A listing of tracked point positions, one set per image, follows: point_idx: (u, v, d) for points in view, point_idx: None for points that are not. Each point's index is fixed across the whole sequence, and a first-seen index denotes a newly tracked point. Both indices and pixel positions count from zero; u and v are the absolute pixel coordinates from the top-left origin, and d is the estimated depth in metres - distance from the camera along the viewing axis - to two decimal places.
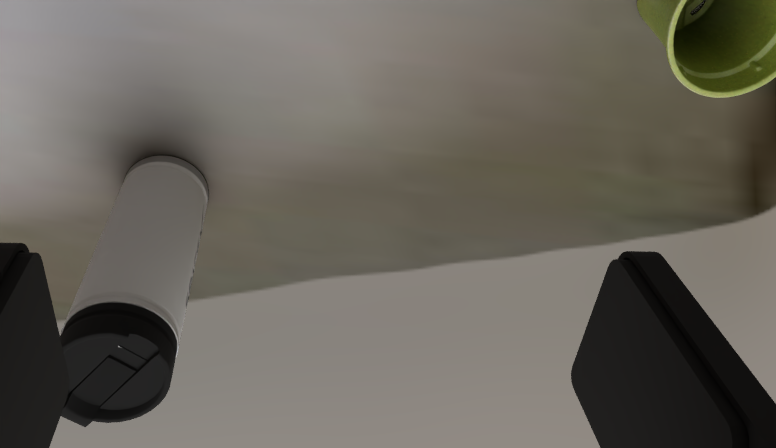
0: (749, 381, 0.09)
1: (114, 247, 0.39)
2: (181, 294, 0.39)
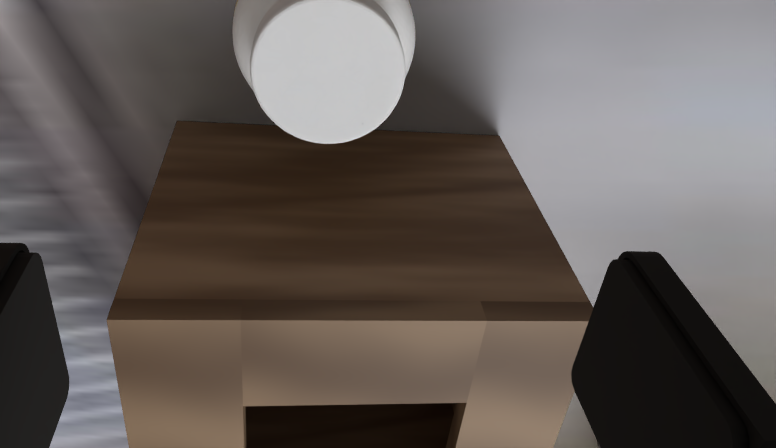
0: (749, 381, 0.09)
1: None
2: None
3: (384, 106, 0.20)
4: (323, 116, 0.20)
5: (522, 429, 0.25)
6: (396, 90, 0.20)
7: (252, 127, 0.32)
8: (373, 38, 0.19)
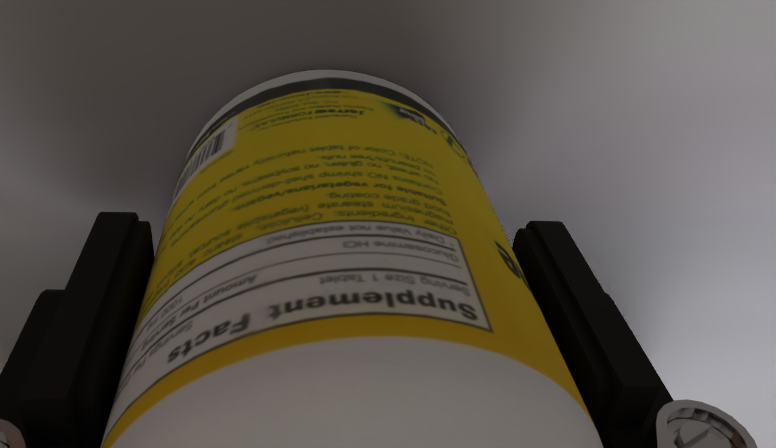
0: (621, 335, 0.09)
1: None
2: None
3: None
4: None
5: None
6: None
7: None
8: None
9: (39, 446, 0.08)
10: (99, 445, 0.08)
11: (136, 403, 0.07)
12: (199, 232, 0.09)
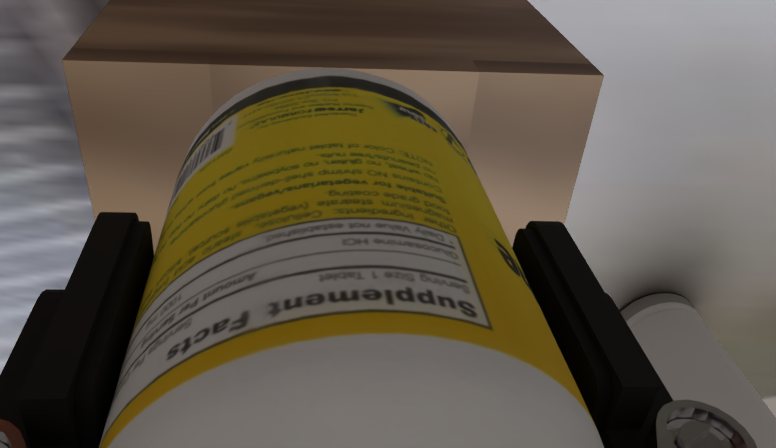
0: (621, 335, 0.09)
1: None
2: None
3: None
4: None
5: (523, 223, 0.24)
6: None
7: None
8: None
9: (39, 446, 0.08)
10: None
11: (134, 400, 0.07)
12: (198, 230, 0.09)
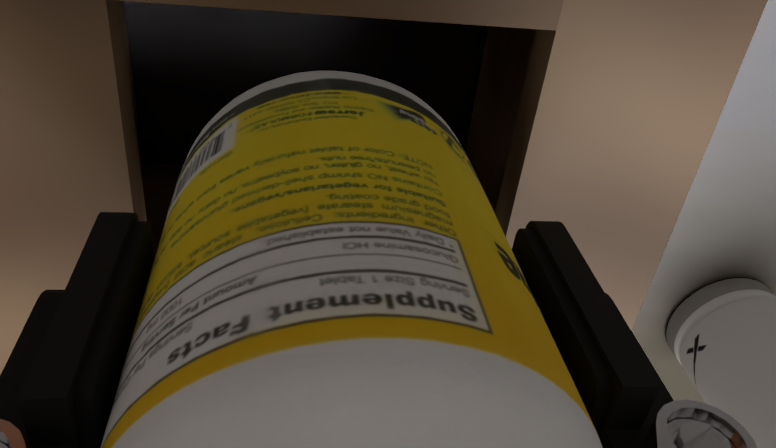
0: (621, 335, 0.09)
1: None
2: None
3: None
4: None
5: (651, 113, 0.14)
6: None
7: None
8: None
9: (39, 446, 0.08)
10: (99, 445, 0.08)
11: (135, 405, 0.07)
12: (199, 233, 0.09)
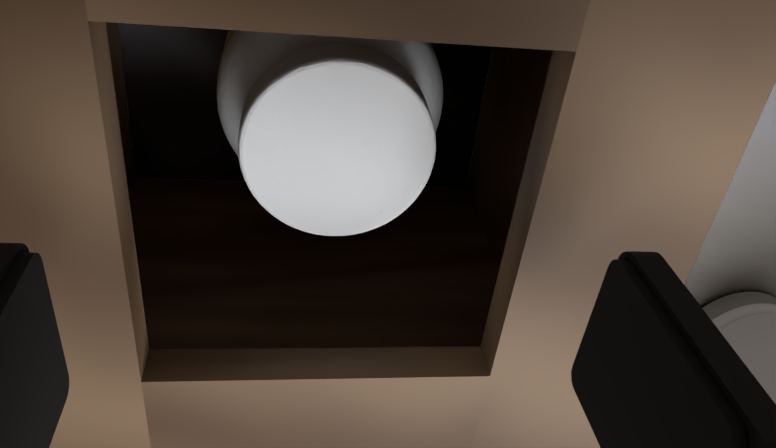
0: (749, 381, 0.09)
1: None
2: None
3: (408, 191, 0.16)
4: (331, 204, 0.16)
5: (676, 138, 0.13)
6: (424, 172, 0.16)
7: None
8: (397, 110, 0.15)
9: None
10: None
11: None
12: None
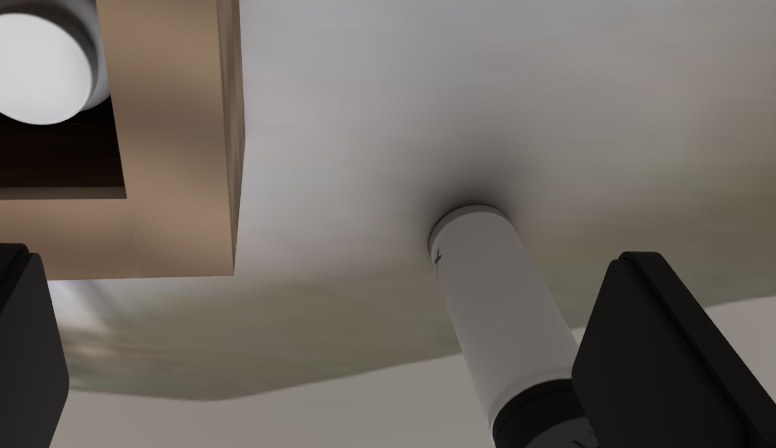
0: (749, 381, 0.09)
1: (511, 313, 0.36)
2: None
3: (80, 93, 0.27)
4: (34, 103, 0.27)
5: (175, 43, 0.24)
6: (86, 81, 0.27)
7: None
8: (56, 42, 0.26)
9: None
10: None
11: None
12: None
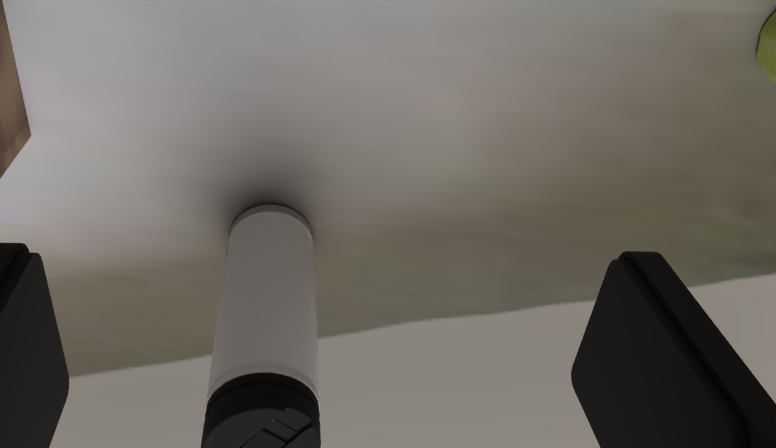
0: (749, 381, 0.09)
1: (249, 309, 0.39)
2: (316, 357, 0.39)
3: None
4: None
5: None
6: None
7: None
8: None
9: None
10: None
11: None
12: None
